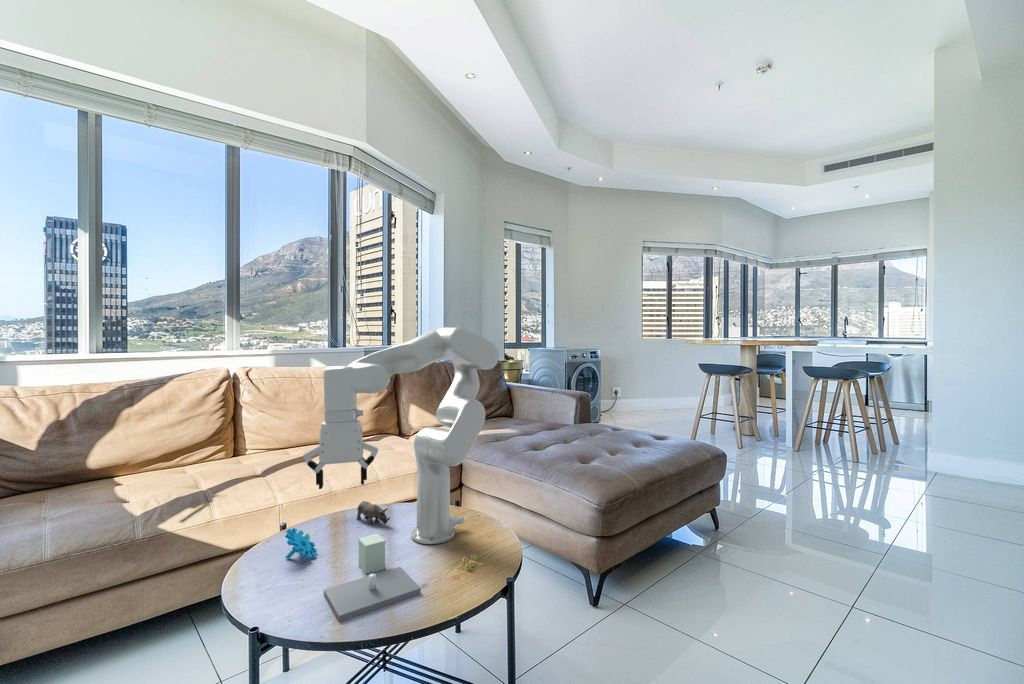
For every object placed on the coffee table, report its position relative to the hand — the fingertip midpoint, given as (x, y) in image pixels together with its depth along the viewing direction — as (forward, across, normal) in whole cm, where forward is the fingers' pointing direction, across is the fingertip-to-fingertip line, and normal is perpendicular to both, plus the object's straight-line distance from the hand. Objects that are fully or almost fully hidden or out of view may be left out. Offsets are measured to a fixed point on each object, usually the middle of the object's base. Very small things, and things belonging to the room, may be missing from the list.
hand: (342, 485), depth 114 cm
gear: (+22, +11, -11) cm, 26 cm away
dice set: (+23, -31, +6) cm, 39 cm away
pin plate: (+21, -7, +13) cm, 26 cm away
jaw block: (+22, -7, 0) cm, 23 cm away
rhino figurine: (+22, -8, -28) cm, 37 cm away
